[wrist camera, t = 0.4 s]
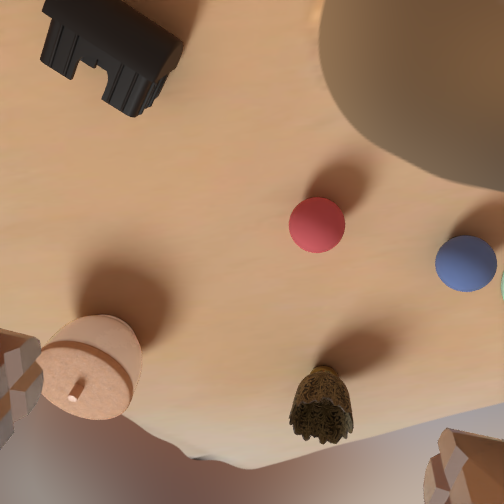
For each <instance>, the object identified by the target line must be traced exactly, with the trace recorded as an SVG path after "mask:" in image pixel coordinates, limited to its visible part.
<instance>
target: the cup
mask: <svg viewBox="0 0 504 504" xmlns="http://www.w3.org/2000/svg"><path fill="white" fill-rule="evenodd" d="M289 418H290V422H289V424H290V425H292V424H293V430H294V433H295V434H296V435H302V437H303V439H304V440H305V441H307V440H309V439H310V437H311V436H313V437H314V438H317V437H318V438H319V440H320V441H319V442H320V443H321V444H325V443H326V441H328V442H330V443H333V444H337V443H338V442H339V440H340V439H341V437H344V438H345V439H347V433H348V432H349V433H352V431H353V417H352V409H351V402H350V397H349V393H348V390H347V387H346V386H345V384H344V383H343V381H342V380H341V379H340V378H338V375H337V373H336V371H335V370H334V369H332V368H331V367H328V366H317V367H315V368H314V369H313V370H312V371H311V373H310V375H308V376H306V377H305V378H304V379H303V380H302V381H301V383H300V384H299V386H298V389H297V391H296V394H295V398H294V401H293V405H292V409H291V412H290V416H289ZM310 435H311V436H310ZM309 436H310V437H309Z"/></svg>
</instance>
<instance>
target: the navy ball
mask: <svg viewBox="0 0 504 504" xmlns="http://www.w3.org/2000/svg"><path fill="white" fill-rule="evenodd" d="M435 266H436V271H437V274H438V276H439V277H440V279H441V280H442V281H443V282H444V283H445V284H446V285H447V286H448V287H450V288H452V289H454V290H457V291H462V292H471V291H476V290H479V289H481V288H483V287H484V286H486V285H487V284H488V283H489V282H490V281H491V280H492V279H493V277H494V275H495V273H496V269H497V259H496V255H495V253H494V251H493V249H492V248H491V247H490V245H488V244H487V243H486V242H485V241H483V240H482V239H480V238H477V237H474V236H467V235H464V236H458V237H454V238H452V239H450V240H448V241H447V242H446V243H444V244H443V245H442V247H441V248H440V249H439V251H438V253H437V256H436V261H435Z"/></svg>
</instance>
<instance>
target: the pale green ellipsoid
mask: <svg viewBox="0 0 504 504" xmlns="http://www.w3.org/2000/svg"><path fill="white" fill-rule="evenodd" d="M501 292H502V296H503V299H504V272H503V276H502V280H501Z"/></svg>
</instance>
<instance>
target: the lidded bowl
mask: <svg viewBox="0 0 504 504" xmlns="http://www.w3.org/2000/svg"><path fill="white" fill-rule="evenodd" d="M36 362H37V363H38V364H39V365H40V367H41V368H42V369H43V375H44V382H43V388H42V392H41V393H42V394H43V395H44V396H45V397H46V398H47V399H48V400H49V401H50V402H52V403H53V404H54V405H56V406H57V407H59V408H61V409H62V410H64V411H66V412H68V413H70V414H73V415H76V416H79V417H82V418H87V419H94V420H104V419H110V418H114V417H116V416H119V415H120V414H122V413H123V412H124V411H125V410H126V409H127V408H128V406H129V404H130V402H131V400H132V397H133V393H134V391H135V389H136V386H137V384H138V381H139V378H140V374H141V370H142V351H141V347H140V344H139V342H138V340H137V338H136V335H135V333H134V331H133V329H132V328H131V327H130V326H129V325H128V324H127V323H126V322H124V321H123V320H121V319H119V318H117V317H115V316H111V315H106V314H100V315H90V316H84V317H81V318H78V319H75V320H73V321H71V322H69V323H68V324H66V325H65V326H63V327H62V328H61V329H60V330H59V331H58V332H56V333H55V334H54V335H53V336H52V337H51V338H50V340H49V341H48V342H47V343H46V344H45V346H44V347H43V348H42V349H41V354H40V356H39V357H38V358H37V359H36Z"/></svg>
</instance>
